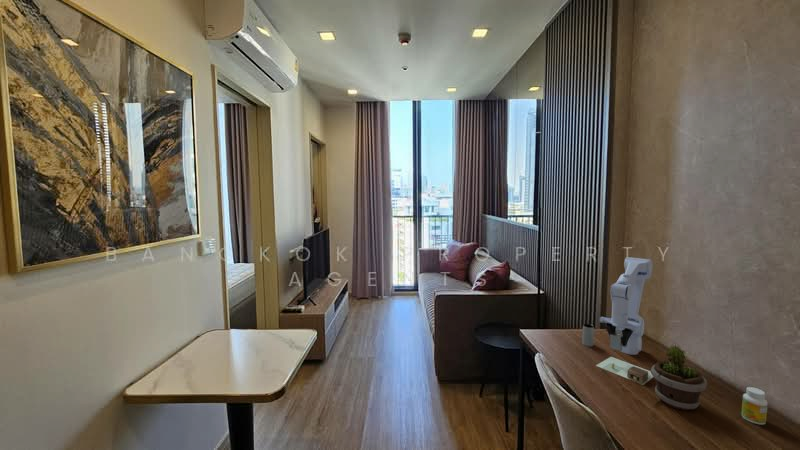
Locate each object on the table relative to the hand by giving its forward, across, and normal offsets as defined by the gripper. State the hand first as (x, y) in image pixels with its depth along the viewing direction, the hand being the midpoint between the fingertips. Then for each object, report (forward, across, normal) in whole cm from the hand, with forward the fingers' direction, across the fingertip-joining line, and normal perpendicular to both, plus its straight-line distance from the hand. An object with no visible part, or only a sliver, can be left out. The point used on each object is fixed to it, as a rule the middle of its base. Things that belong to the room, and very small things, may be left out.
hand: (618, 343), depth 138 cm
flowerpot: (+10, +23, -10) cm, 27 cm away
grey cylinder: (+10, -16, +7) cm, 20 cm away
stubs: (+8, +10, -8) cm, 15 cm away
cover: (+8, +10, -7) cm, 15 cm away
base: (+10, +4, -4) cm, 11 cm away
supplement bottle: (+10, +40, -1) cm, 41 cm away
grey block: (+2, 0, 0) cm, 2 cm away
